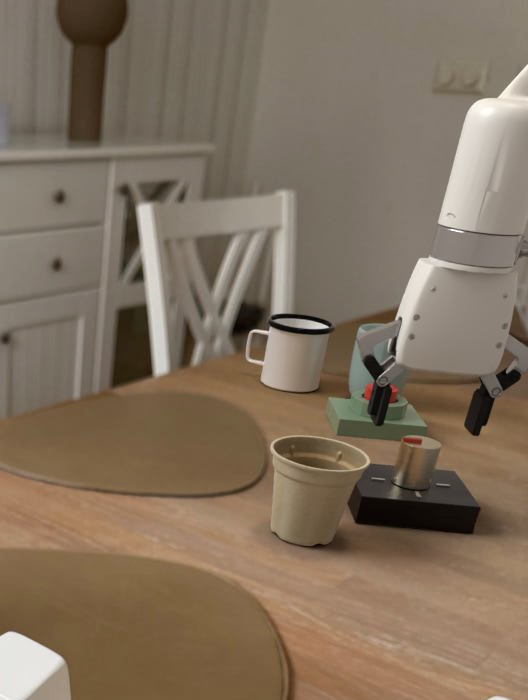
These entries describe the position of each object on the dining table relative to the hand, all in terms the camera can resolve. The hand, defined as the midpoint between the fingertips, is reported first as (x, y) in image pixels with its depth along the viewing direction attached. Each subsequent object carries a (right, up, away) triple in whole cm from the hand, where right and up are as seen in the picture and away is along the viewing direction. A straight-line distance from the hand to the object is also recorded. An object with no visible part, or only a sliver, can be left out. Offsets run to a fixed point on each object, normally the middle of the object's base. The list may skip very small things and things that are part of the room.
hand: (423, 426), depth 100 cm
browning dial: (0, -5, +3) cm, 6 cm away
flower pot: (-13, -11, -2) cm, 17 cm away
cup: (+7, +11, +37) cm, 40 cm away
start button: (+4, +9, +26) cm, 28 cm away
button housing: (+4, +6, +28) cm, 29 cm away
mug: (-4, +16, +43) cm, 46 cm away
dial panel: (0, -8, +5) cm, 9 cm away
